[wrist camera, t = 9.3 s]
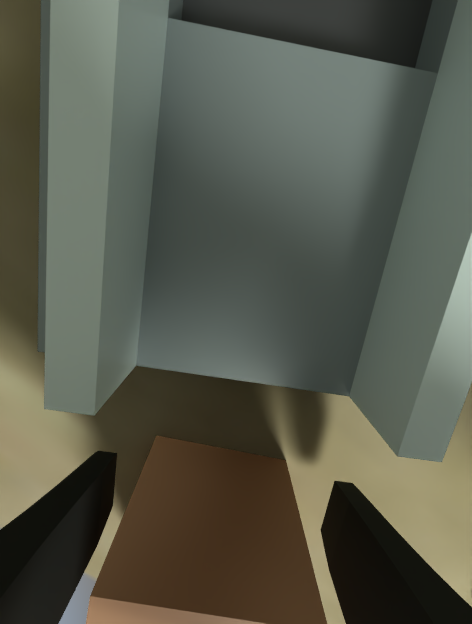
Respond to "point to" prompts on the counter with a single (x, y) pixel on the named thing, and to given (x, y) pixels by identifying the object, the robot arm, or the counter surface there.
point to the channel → (260, 201)
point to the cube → (208, 544)
